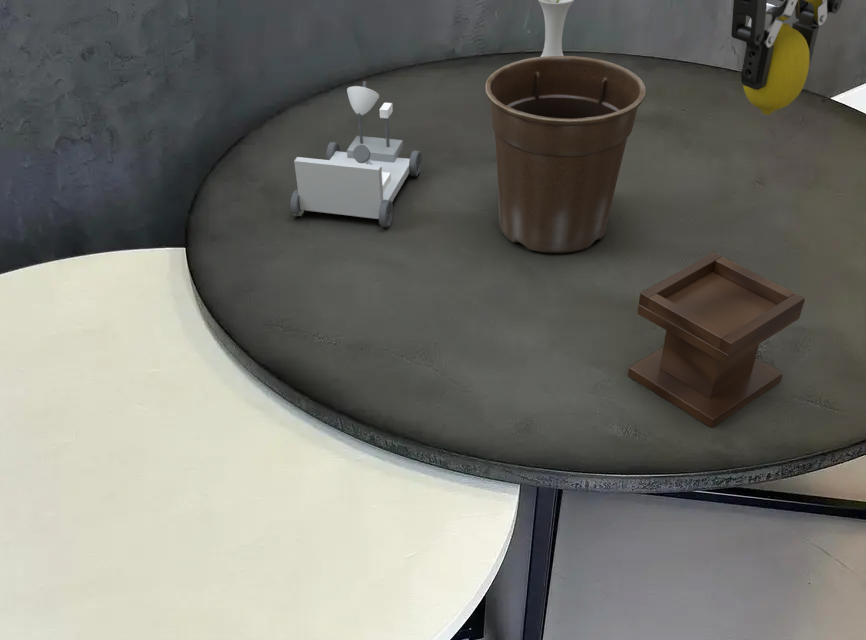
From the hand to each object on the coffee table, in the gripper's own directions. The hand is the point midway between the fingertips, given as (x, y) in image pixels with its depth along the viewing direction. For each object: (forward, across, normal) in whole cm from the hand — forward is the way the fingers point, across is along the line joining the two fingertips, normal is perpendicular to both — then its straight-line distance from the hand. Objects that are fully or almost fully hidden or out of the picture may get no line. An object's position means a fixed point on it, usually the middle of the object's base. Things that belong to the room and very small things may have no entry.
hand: (775, 75), depth 89 cm
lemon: (+4, 0, 0) cm, 4 cm away
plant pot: (+21, -7, +20) cm, 30 cm away
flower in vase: (+21, +15, +43) cm, 50 cm away
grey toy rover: (+21, -18, +42) cm, 50 cm away
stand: (+21, -15, -9) cm, 28 cm away
